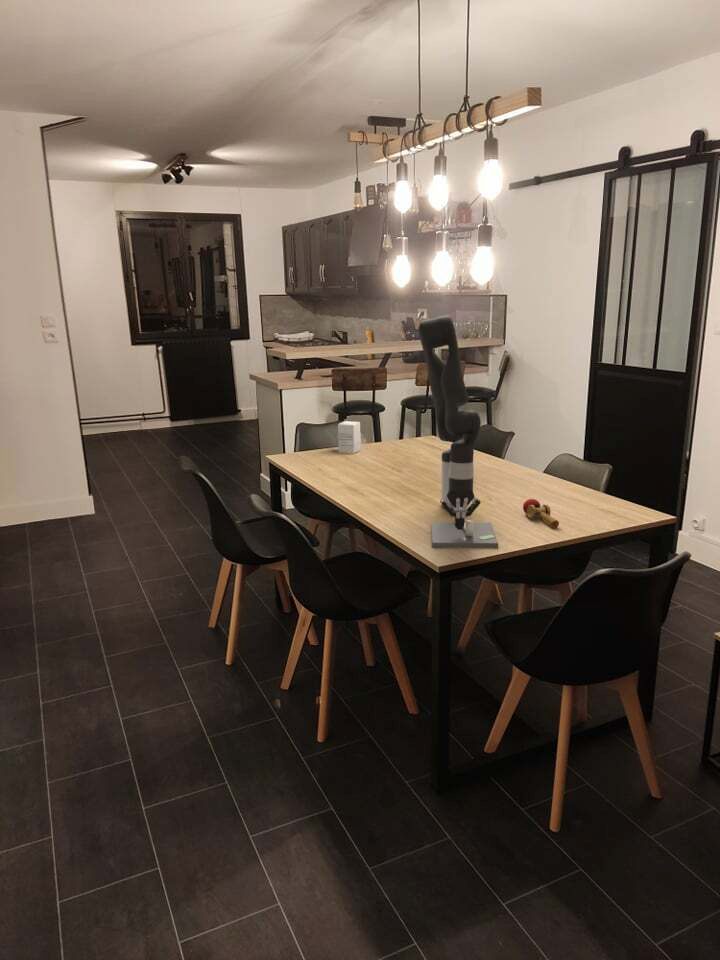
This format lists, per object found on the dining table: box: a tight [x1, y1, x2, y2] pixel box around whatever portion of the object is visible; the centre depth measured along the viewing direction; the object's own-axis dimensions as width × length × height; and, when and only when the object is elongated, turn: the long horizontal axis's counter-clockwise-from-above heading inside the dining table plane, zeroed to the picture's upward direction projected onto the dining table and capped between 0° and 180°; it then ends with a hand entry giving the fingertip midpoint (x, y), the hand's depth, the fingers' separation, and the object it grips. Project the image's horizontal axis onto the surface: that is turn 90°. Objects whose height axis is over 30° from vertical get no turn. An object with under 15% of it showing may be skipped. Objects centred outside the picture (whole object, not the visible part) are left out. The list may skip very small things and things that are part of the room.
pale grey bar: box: [464, 517, 474, 536], centre depth 218 cm, size 14×3×5 cm, turn 4°
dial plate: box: [430, 521, 499, 549], centre depth 217 cm, size 20×20×2 cm
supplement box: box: [337, 420, 362, 454], centre depth 340 cm, size 9×9×15 cm
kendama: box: [522, 498, 560, 529], centre depth 231 cm, size 8×6×18 cm
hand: (459, 528), depth 212 cm, fingers closed
